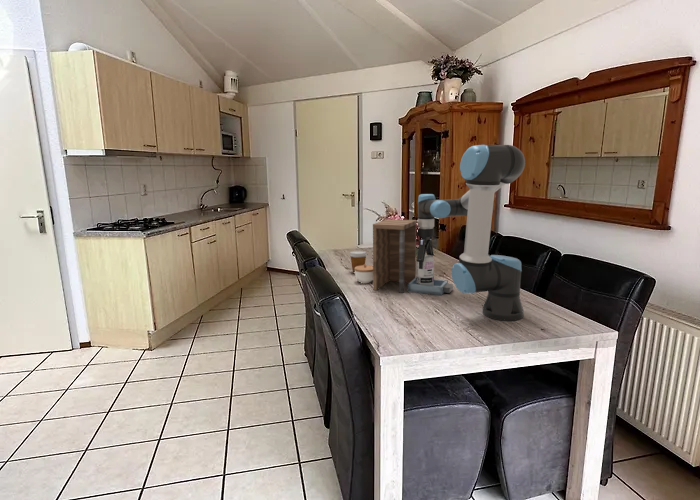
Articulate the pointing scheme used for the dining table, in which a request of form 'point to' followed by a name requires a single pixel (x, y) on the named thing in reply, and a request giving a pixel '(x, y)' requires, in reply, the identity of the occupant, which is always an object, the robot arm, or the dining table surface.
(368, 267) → the lidded jar
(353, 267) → the disposable coffee cup
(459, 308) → the dining table surface
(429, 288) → the tray
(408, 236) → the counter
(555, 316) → the dining table surface
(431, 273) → the supplement can
